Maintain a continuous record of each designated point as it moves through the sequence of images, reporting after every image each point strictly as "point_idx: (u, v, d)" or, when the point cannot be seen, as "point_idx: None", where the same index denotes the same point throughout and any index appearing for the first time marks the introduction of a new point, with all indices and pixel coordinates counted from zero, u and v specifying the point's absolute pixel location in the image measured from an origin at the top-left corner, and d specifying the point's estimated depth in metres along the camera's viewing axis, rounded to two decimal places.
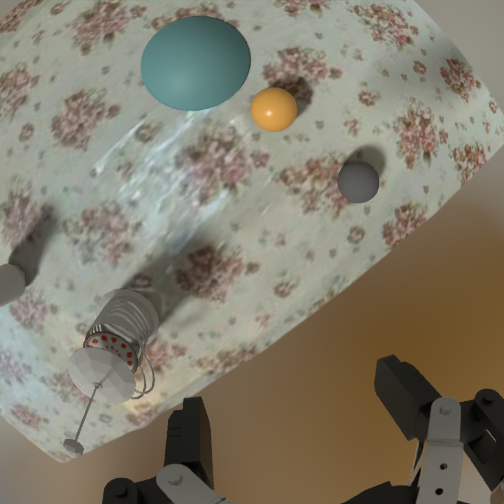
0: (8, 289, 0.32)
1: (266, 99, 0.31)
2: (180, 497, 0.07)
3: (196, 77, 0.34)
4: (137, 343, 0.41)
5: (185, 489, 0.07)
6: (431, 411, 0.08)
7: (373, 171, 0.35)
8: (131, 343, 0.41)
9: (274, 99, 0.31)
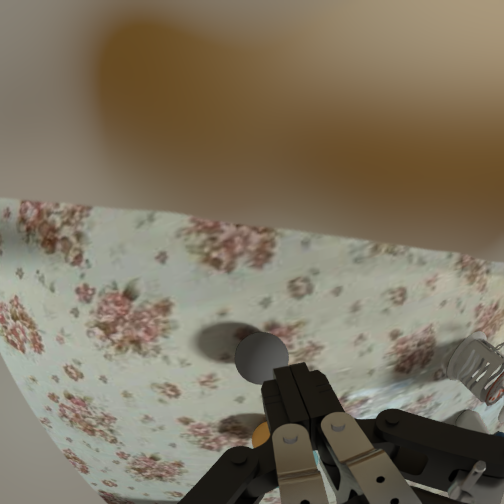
0: None
1: None
2: (303, 452, 0.08)
3: None
4: (482, 341, 0.38)
5: (293, 450, 0.08)
6: (320, 425, 0.09)
7: (246, 373, 0.28)
8: (483, 344, 0.38)
9: None
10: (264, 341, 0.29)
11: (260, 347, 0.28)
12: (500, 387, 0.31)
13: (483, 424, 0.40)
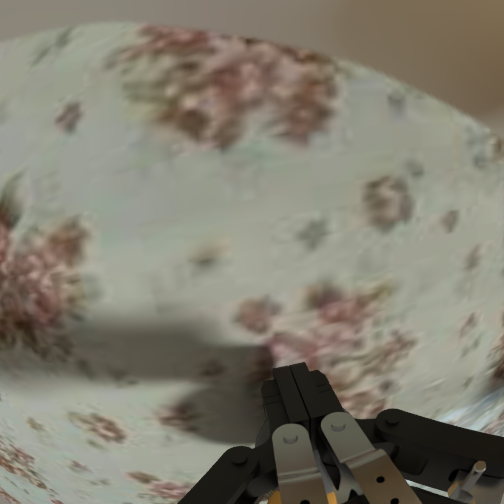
0: None
1: None
2: (303, 452, 0.08)
3: None
4: None
5: (293, 450, 0.08)
6: (320, 425, 0.09)
7: None
8: None
9: None
10: None
11: None
12: None
13: None
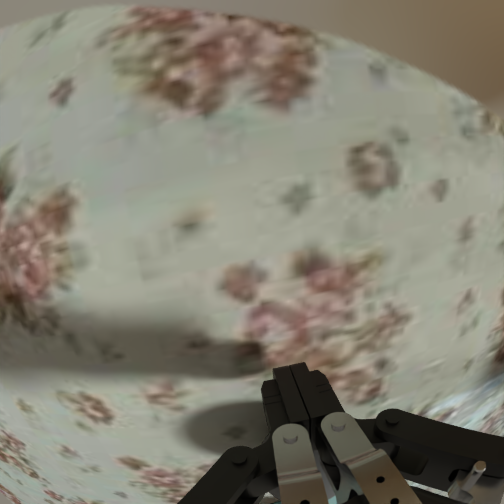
0: None
1: None
2: (303, 452, 0.08)
3: None
4: None
5: (293, 449, 0.08)
6: (320, 425, 0.09)
7: None
8: None
9: None
10: None
11: None
12: None
13: None
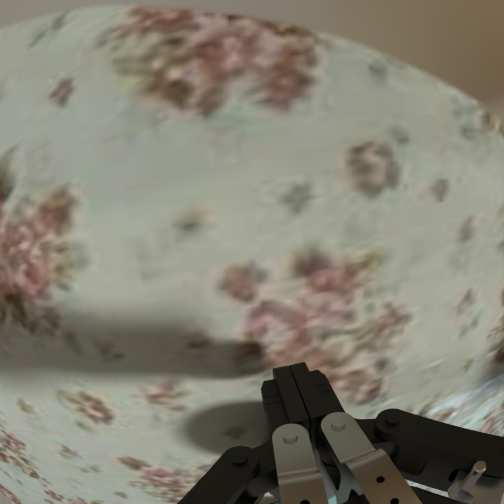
0: None
1: None
2: (303, 452, 0.08)
3: None
4: None
5: (293, 449, 0.08)
6: (320, 425, 0.09)
7: None
8: None
9: None
10: None
11: None
12: None
13: None
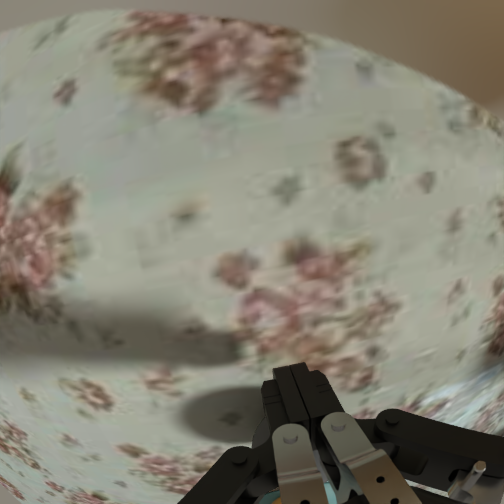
0: None
1: None
2: (303, 452, 0.08)
3: None
4: None
5: (293, 449, 0.08)
6: (320, 425, 0.09)
7: None
8: None
9: None
10: None
11: None
12: None
13: None
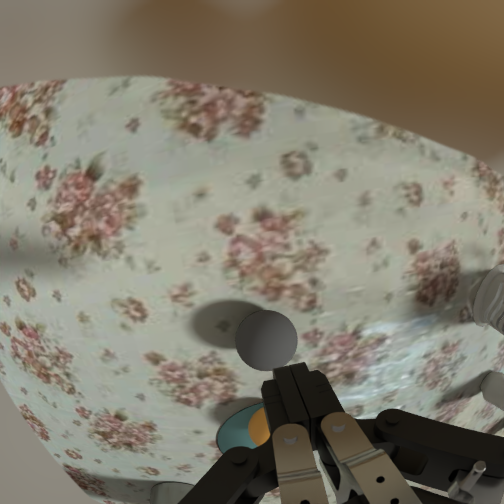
0: (502, 393, 0.34)
1: None
2: (303, 452, 0.08)
3: None
4: None
5: (293, 450, 0.08)
6: (320, 425, 0.09)
7: None
8: None
9: None
10: None
11: None
12: None
13: None
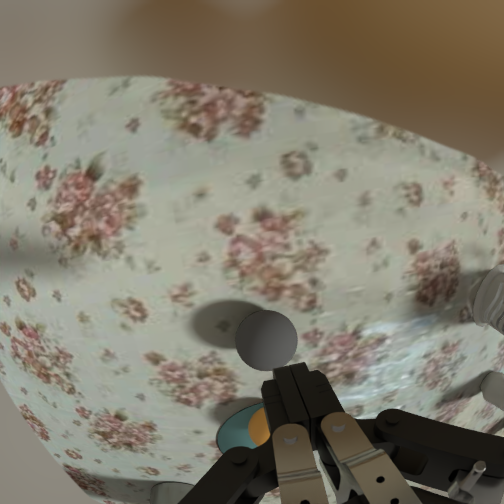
0: (502, 393, 0.34)
1: None
2: (303, 452, 0.08)
3: None
4: None
5: (293, 450, 0.08)
6: (320, 425, 0.09)
7: None
8: None
9: None
10: None
11: None
12: None
13: None
